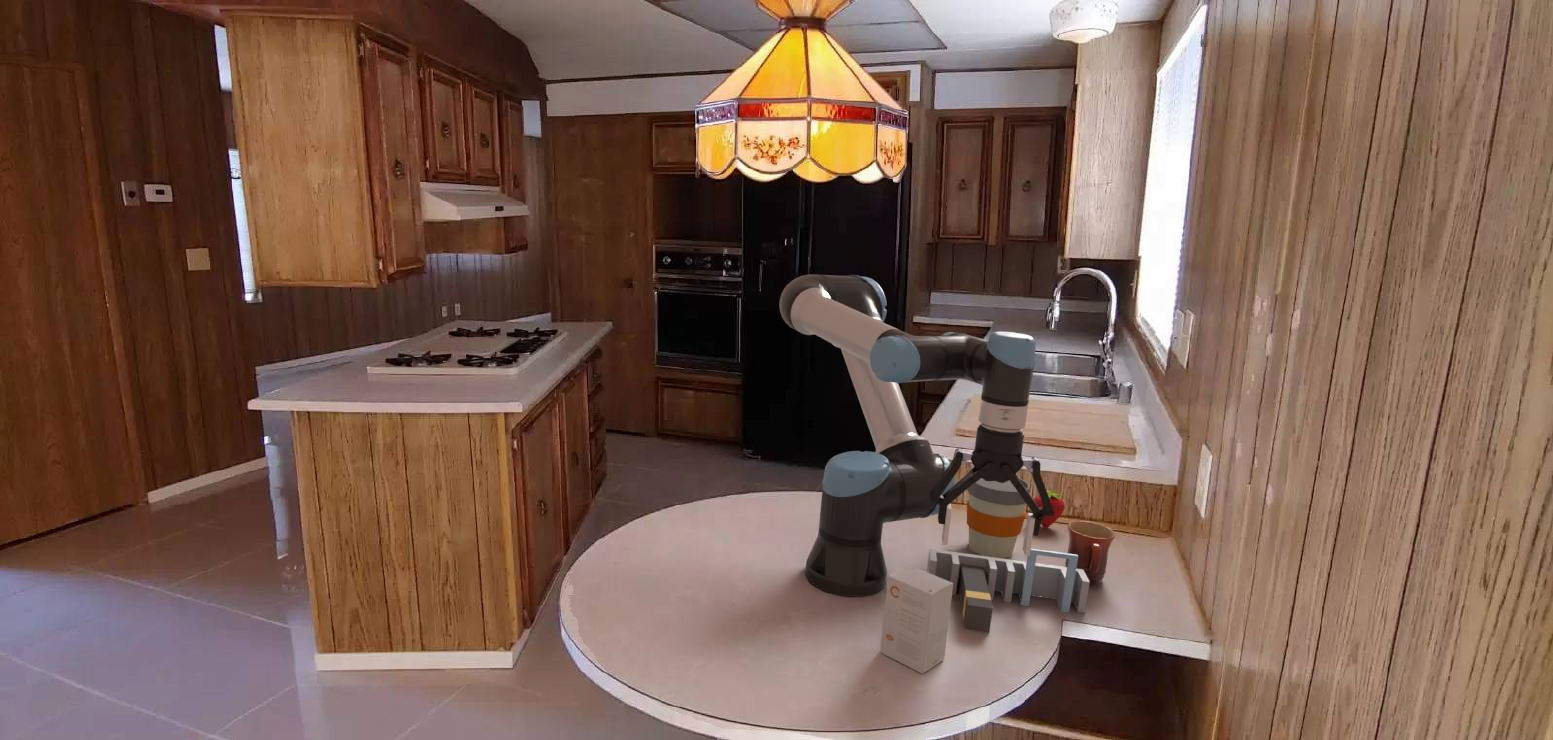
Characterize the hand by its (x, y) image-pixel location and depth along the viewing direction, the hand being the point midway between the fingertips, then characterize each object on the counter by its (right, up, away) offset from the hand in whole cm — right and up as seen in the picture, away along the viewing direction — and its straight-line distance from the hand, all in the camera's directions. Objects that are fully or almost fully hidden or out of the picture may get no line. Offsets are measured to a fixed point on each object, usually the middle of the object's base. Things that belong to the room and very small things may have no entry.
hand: (985, 547), depth 136 cm
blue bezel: (+13, -13, +8) cm, 20 cm away
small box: (-14, -15, -11) cm, 23 cm away
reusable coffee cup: (+9, -8, +32) cm, 34 cm away
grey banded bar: (-1, -12, +6) cm, 13 cm away
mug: (+25, -11, +20) cm, 34 cm away
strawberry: (+26, -6, +47) cm, 54 cm away
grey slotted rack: (+6, -11, +12) cm, 17 cm away
